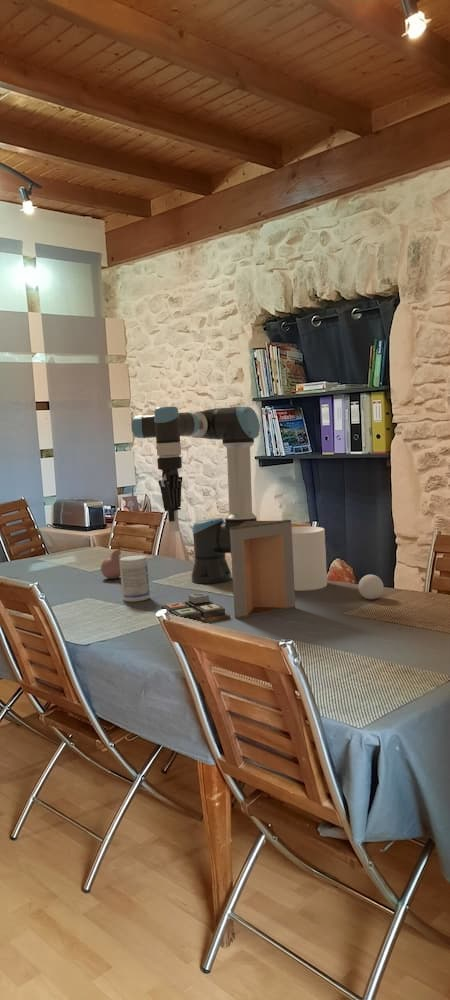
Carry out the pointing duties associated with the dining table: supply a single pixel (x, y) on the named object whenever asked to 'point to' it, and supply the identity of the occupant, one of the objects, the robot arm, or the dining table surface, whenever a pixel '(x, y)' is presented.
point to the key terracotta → (175, 605)
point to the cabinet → (262, 567)
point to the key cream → (209, 607)
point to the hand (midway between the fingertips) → (174, 531)
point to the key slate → (198, 598)
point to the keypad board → (201, 612)
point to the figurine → (111, 565)
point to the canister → (309, 558)
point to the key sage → (185, 611)
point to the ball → (370, 586)
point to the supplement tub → (134, 578)
